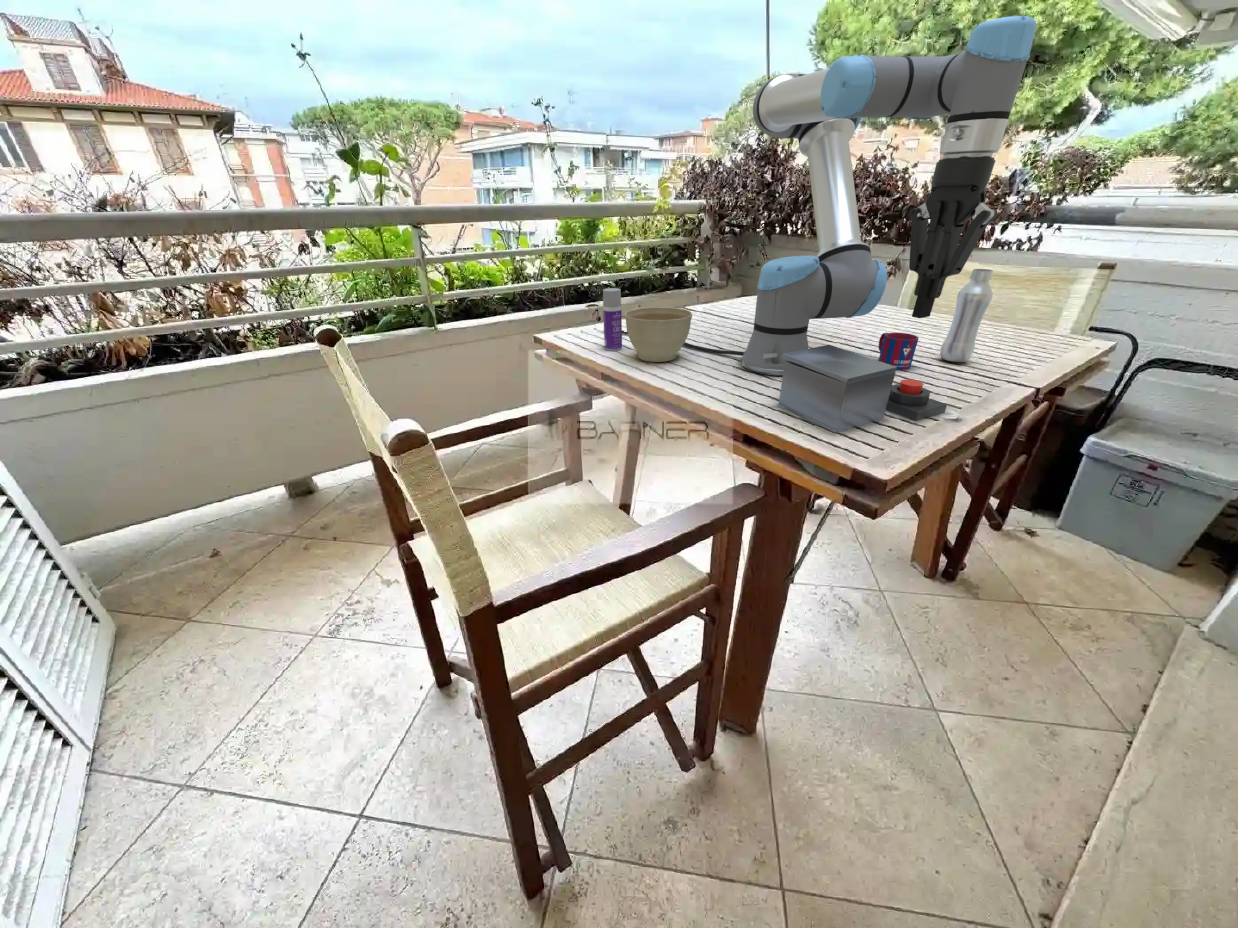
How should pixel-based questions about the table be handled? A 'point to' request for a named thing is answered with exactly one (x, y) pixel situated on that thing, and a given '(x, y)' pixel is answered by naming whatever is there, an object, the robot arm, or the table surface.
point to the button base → (913, 404)
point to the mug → (897, 349)
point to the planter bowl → (658, 331)
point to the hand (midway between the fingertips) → (920, 316)
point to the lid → (839, 363)
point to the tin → (833, 398)
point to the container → (612, 319)
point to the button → (910, 386)
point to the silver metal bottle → (967, 317)
